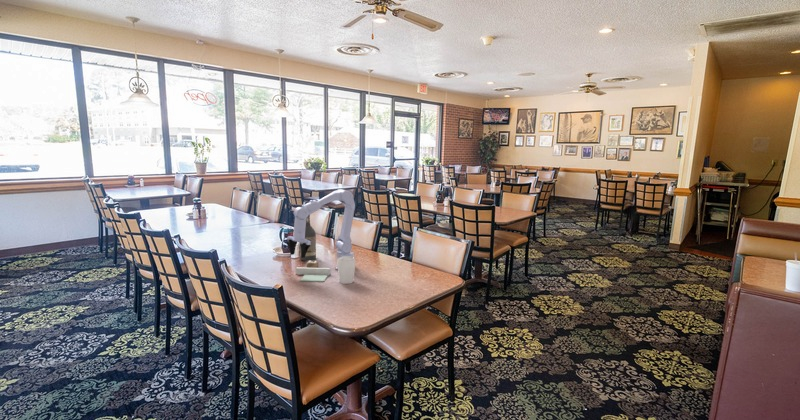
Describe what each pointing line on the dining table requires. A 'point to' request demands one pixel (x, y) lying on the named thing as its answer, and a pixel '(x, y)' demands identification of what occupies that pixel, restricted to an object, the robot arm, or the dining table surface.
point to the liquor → (311, 237)
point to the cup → (346, 269)
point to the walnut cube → (312, 264)
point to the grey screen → (313, 271)
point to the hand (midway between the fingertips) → (297, 255)
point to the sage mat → (314, 278)
